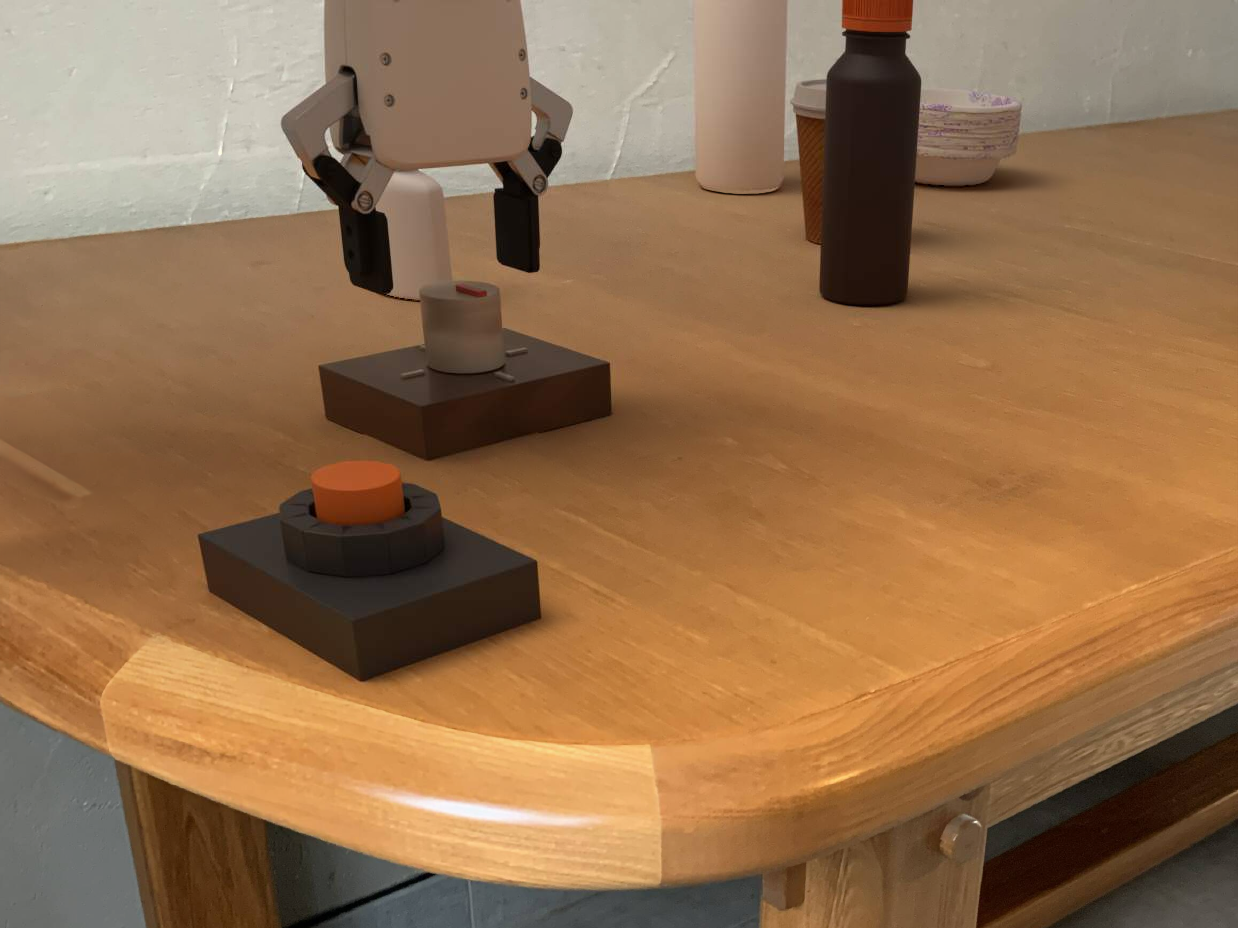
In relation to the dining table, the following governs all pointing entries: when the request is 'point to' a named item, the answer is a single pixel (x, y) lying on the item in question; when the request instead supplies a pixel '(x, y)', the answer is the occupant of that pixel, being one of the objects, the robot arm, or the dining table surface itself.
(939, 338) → the dining table surface
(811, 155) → the disposable coffee cup
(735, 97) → the pale pink cylinder
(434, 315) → the dial
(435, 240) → the eye dropper bottle
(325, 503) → the button
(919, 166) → the paper bowls
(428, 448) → the dial panel
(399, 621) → the button base
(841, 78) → the dark brown water bottle
